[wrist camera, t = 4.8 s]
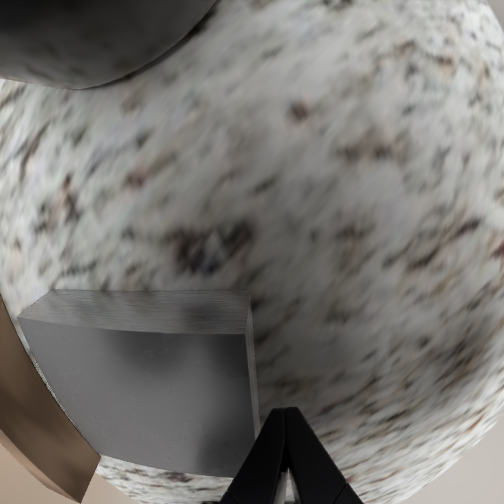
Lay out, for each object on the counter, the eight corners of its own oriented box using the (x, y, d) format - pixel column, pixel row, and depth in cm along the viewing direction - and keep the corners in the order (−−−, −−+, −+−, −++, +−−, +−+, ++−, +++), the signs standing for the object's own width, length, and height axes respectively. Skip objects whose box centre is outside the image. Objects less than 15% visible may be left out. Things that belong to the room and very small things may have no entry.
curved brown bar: (101, 457, 12) (80, 503, 8) (68, 447, 12) (47, 487, 8) (-17, 243, 8) (-81, 277, 4) (-39, 251, 8) (-91, 281, 4)
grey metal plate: (261, 430, 10) (259, 478, 8) (114, 414, 11) (95, 452, 8) (250, 283, 8) (245, 334, 6) (58, 284, 8) (17, 316, 6)
